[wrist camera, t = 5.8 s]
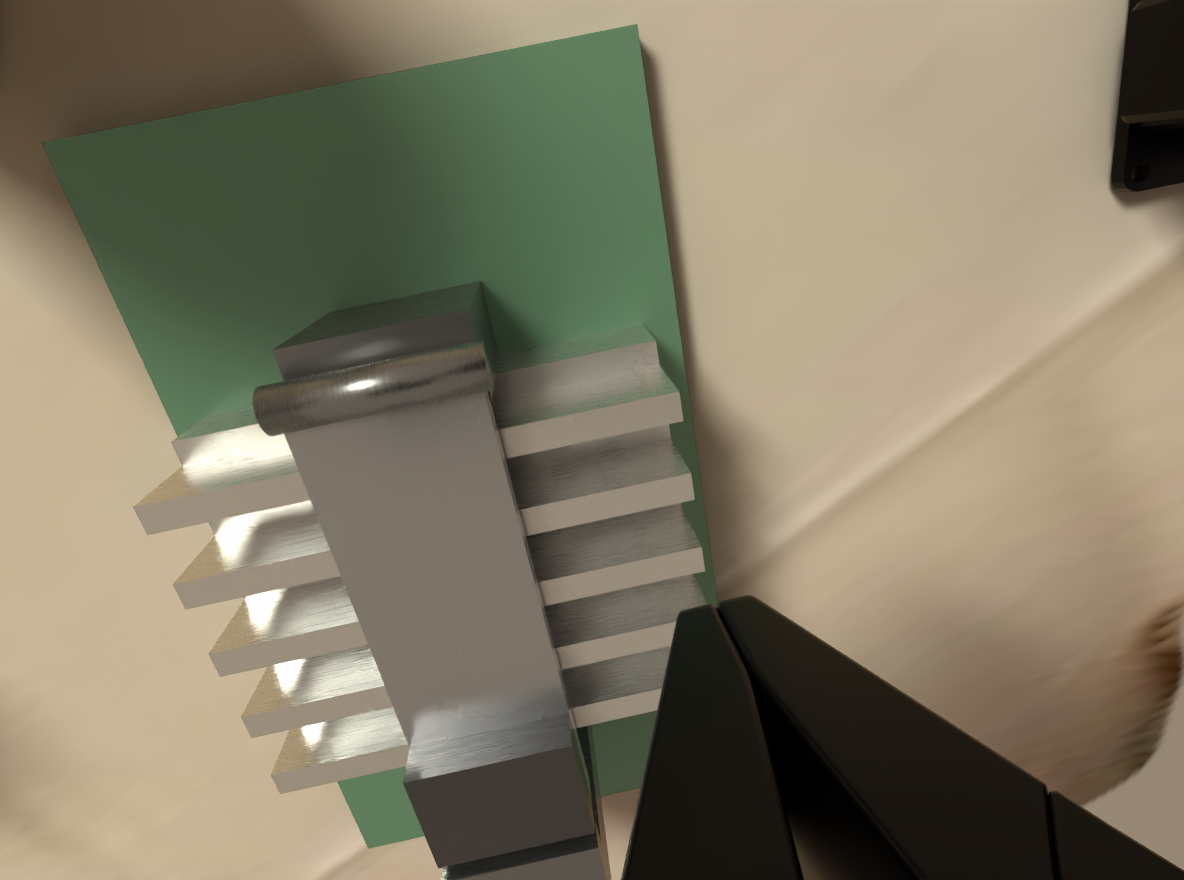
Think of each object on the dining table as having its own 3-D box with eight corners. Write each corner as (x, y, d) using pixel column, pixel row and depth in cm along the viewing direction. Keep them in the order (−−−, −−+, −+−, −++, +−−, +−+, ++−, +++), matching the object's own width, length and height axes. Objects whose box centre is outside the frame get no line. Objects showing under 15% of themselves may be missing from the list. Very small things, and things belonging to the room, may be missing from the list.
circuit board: (631, 31, 16) (637, 23, 15) (733, 747, 25) (739, 765, 24) (64, 144, 16) (41, 142, 15) (372, 828, 25) (368, 848, 24)
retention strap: (483, 334, 13) (478, 354, 12) (596, 777, 18) (602, 831, 16) (265, 379, 13) (232, 405, 12) (437, 812, 18) (430, 870, 16)
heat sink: (630, 250, 17) (683, 283, 11) (703, 705, 23) (762, 878, 17) (176, 343, 17) (-1, 425, 11) (368, 780, 23) (315, 980, 17)
